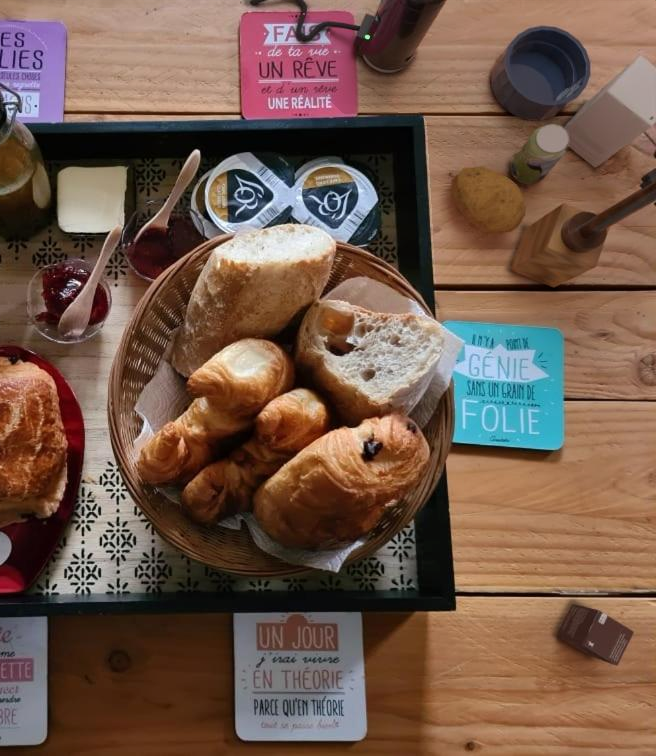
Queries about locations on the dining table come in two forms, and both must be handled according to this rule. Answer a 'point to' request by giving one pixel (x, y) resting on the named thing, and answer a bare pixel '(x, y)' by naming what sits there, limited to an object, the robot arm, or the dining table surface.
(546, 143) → the beverage can
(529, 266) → the wooden block
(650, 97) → the rectangular carton
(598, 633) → the box
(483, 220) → the potato
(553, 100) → the bowl
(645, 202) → the brown rod with disc
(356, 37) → the robot arm
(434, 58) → the dining table surface
